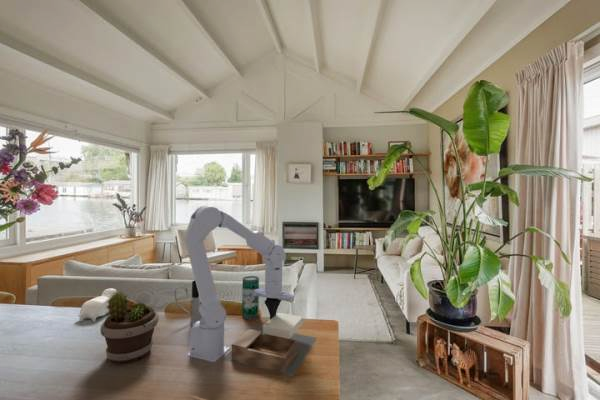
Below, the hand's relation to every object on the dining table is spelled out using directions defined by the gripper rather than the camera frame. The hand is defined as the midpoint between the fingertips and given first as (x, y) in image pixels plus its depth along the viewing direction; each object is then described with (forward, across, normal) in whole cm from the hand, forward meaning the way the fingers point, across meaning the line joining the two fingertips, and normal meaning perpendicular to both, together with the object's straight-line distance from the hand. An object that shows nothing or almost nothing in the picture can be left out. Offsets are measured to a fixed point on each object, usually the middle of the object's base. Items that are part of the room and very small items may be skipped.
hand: (273, 319), depth 93 cm
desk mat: (+6, -4, +6) cm, 9 cm away
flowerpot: (+6, +33, +27) cm, 43 cm away
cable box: (+5, -4, +12) cm, 14 cm away
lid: (+1, -5, +2) cm, 6 cm away
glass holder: (+6, +33, +2) cm, 33 cm away
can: (+6, +17, -11) cm, 21 cm away
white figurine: (+6, +71, +13) cm, 72 cm away
